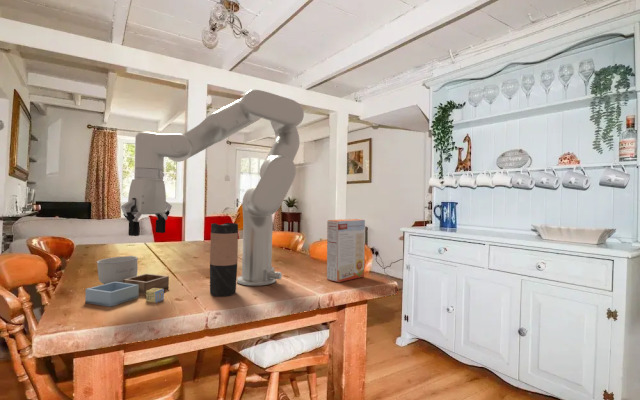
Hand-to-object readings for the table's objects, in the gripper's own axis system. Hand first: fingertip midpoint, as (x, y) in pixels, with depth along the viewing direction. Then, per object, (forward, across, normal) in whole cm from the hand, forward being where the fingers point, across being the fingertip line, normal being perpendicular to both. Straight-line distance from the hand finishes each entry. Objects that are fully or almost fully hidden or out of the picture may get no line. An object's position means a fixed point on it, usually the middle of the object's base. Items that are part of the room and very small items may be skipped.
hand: (147, 234), depth 99 cm
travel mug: (+16, -6, +22) cm, 28 cm away
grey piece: (+17, -3, -13) cm, 21 cm away
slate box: (+16, +11, 0) cm, 20 cm away
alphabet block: (+17, +7, +10) cm, 21 cm away
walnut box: (+16, 0, 0) cm, 16 cm away
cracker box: (+16, -39, +50) cm, 66 cm away
